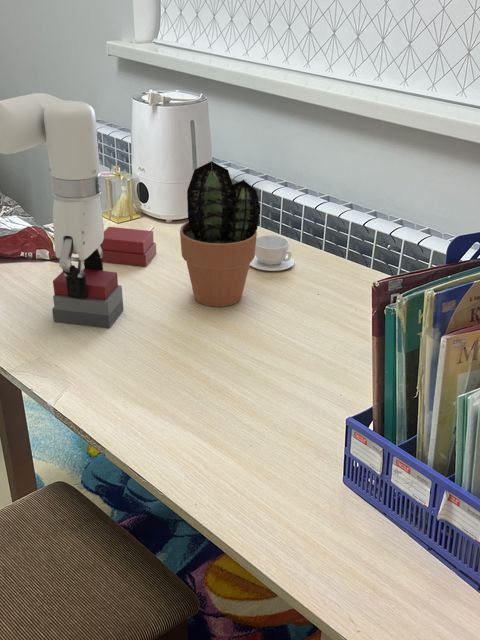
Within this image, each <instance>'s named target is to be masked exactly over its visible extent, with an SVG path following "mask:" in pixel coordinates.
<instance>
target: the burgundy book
mask: <svg viewBox="0 0 480 640" xmlns="http://www.w3.org/2000/svg"><path fill="white" fill-rule="evenodd" d="M76 268H77V269H78V267H76ZM83 276H86V285H87V295H88V296H87V298H90V299H98V300H106V299H107V298H108V297H109V296H110V294H111V293H112V292H113V291H114V290H115V288H116V287H117V286H118V285H119V281H118V272H117V271H110V270H109V271H108V270H103V271H100V270H91V269H84V270H83ZM52 286H53V295H64V296H68V291H67V282H66V276H65V275H64V272H63V271H61V273H59V274H58V275H57V276H56V277H55V278H54V279H53V280H52Z"/></svg>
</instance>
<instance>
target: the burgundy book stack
mask: <svg viewBox="0 0 480 640" xmlns="http://www.w3.org/2000/svg"><path fill="white" fill-rule="evenodd" d="M102 243H103V244H102V246H101V249H102V252H103V256H102V261H103V263H108V264H117V265H125V266H126V265H127V266H135V267H145V268H146V267H148V266H149V264H150V263H151V261H152V260H153V258H154V257H155V256H156V255H157V243H156V242H154V230H145V229H137V228H126V227H116V226H107V228H106V229H104V240H103V242H102ZM99 258H100V257H99Z"/></svg>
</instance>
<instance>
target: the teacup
mask: <svg viewBox="0 0 480 640" xmlns="http://www.w3.org/2000/svg"><path fill="white" fill-rule="evenodd" d="M289 247H290V241H289V240H288V239H287V238H285V237H284V236H281V235H273V234H266V235H259V236H257V237H256V248H255V258H254V259H253V260H252V262H250V265H249V267H251V268H254V269H258V270H260V271H261V270H262V271H272V272H276V271H277V272H278V271H284V270H288V269H289V268H291V267H293V266H294V264H295V260H294V258H293V254H292V251H291V250H289Z"/></svg>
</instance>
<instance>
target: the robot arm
mask: <svg viewBox="0 0 480 640" xmlns="http://www.w3.org/2000/svg"><path fill="white" fill-rule="evenodd" d="M98 142H99V141H98V131H97V118H96V112H95V110H94V108H93V107H92V105H90V104H89V103H86V102H85V101H79V100H65V99H61V98H59V97H57V96H54V95H51V94H49V93H46V92H45V93H43V92H35V93H29V94H26V95H25V94H24V95H20V96H15V97H11V98H6V99H2V100H1V99H0V154H1V155H12V154H16V153H17V154H18V153H20V152H23V151H27V150H29V149H32V148H35V147H41V146H44V145H45V146H46V149H47V156H48V167H49V174H50V175H49V176H50V184H51V192H52V197H53V198H54V199H53V206H52V226H53V228H52V229H53V243H54V244H53V245H54V254H55V257H56V258H57V259H58V260H59V261H58V266H59V267H60V268H61V270H62V272H64V275H65V276H66V282H67V291H68V296H69V297H72V298H81V299H86V298H87V296H88V295H87V285H86V276H83V270H84V269H91V270H100V271H104V262H103V261H102V256H103V252H102V249H101V246H102V244H103V243H102V242H103V240H104V231H105V228H104V227H105V226H104V217H103V210H102V209H103V208H102V202H101V196H102V180H101V168H100V156H99V143H98ZM73 255H78V257H73ZM99 257H100V258H99ZM72 262H77V267H76V266H75V265H73V264H72ZM77 268H78V269H77Z"/></svg>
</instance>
